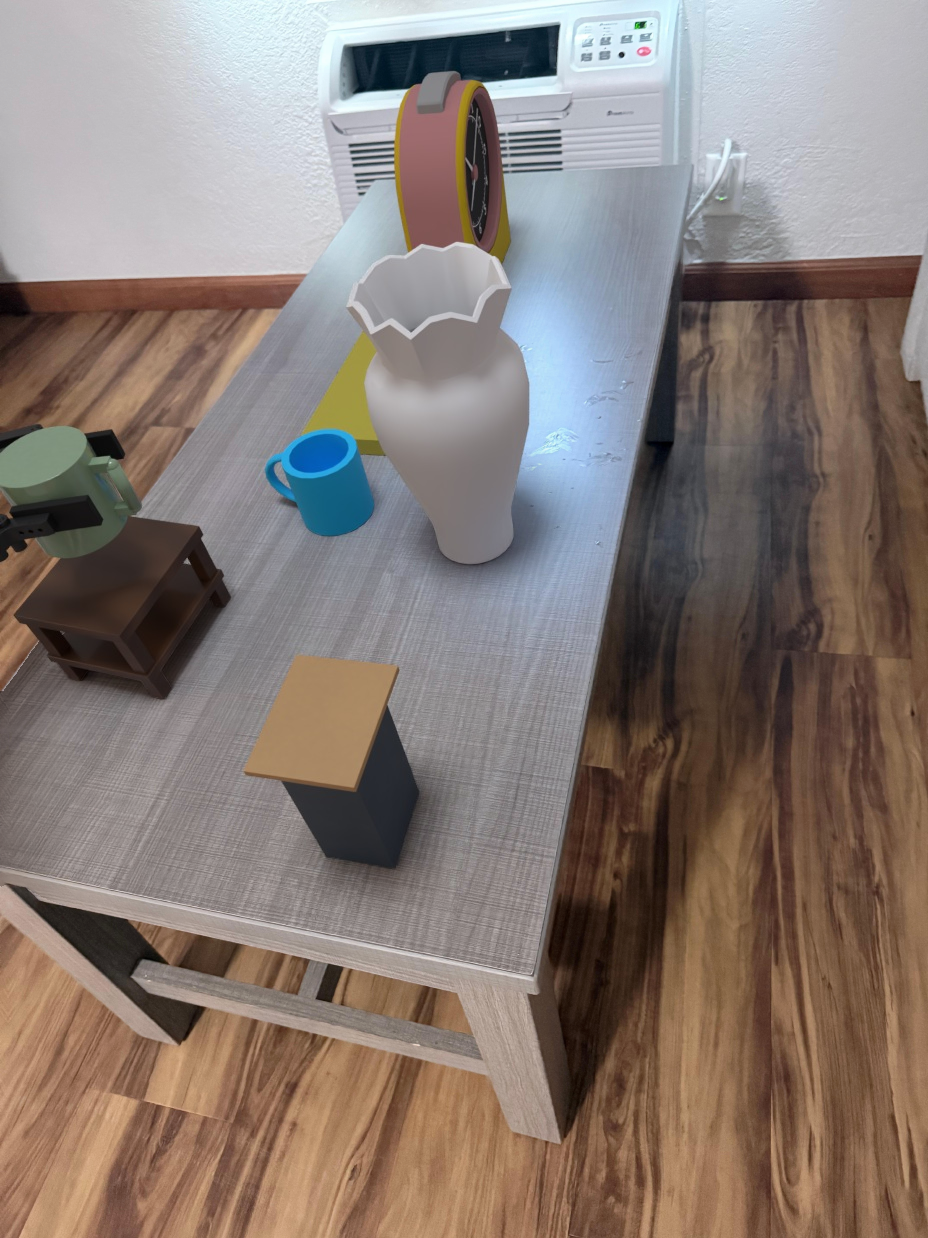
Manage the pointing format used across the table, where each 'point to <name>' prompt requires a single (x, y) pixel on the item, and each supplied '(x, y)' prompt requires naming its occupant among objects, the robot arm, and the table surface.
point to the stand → (340, 757)
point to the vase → (447, 389)
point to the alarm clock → (450, 166)
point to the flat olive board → (349, 401)
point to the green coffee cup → (67, 485)
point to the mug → (325, 481)
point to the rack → (125, 602)
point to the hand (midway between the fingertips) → (106, 475)
